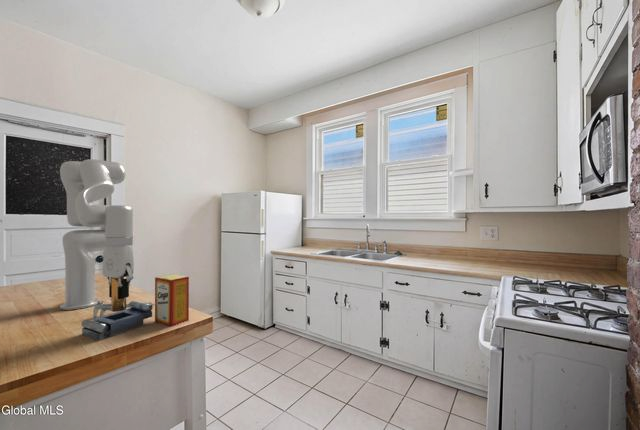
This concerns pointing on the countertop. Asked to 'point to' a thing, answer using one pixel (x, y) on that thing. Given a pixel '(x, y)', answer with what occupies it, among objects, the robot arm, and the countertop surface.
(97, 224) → the robot arm
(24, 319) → the countertop surface
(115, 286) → the gold tall block
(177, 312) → the baking soda box
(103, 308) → the caliper
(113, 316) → the grey bench vise
